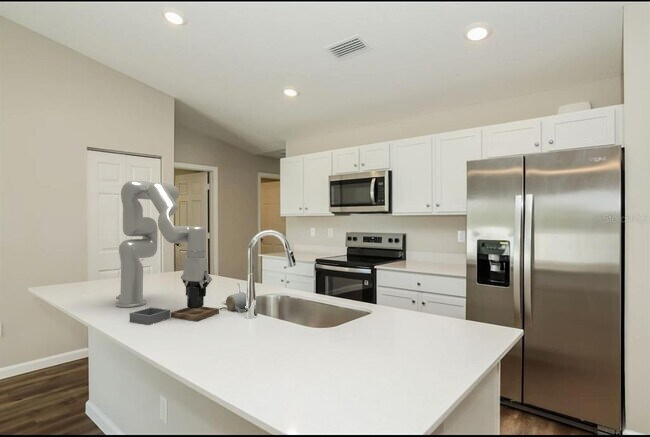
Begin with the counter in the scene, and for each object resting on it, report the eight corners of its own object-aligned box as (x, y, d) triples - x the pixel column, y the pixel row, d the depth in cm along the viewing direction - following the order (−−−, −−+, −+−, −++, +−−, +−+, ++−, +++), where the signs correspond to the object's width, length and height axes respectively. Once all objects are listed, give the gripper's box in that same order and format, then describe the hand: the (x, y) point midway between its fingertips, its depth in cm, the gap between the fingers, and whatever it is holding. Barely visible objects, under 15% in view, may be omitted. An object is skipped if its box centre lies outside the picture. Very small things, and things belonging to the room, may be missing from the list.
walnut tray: (170, 317, 151) (170, 312, 151) (193, 310, 164) (193, 305, 164) (197, 321, 146) (197, 316, 146) (218, 313, 159) (218, 308, 159)
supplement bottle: (183, 307, 153) (183, 279, 153) (194, 304, 159) (195, 277, 159) (196, 309, 150) (196, 280, 150) (207, 305, 156) (207, 278, 157)
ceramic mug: (224, 309, 166) (225, 293, 166) (239, 306, 172) (239, 290, 172) (237, 314, 159) (238, 297, 159) (252, 311, 165) (253, 294, 165)
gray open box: (129, 321, 144) (129, 313, 144) (150, 315, 154) (150, 307, 154) (149, 324, 140) (149, 316, 140) (169, 318, 150) (170, 309, 150)
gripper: (174, 254, 154) (173, 295, 154) (207, 256, 148) (206, 299, 148) (186, 253, 161) (186, 292, 161) (218, 255, 155) (217, 296, 155)
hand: (195, 295), depth 155 cm, fingers closed on supplement bottle, 6 cm apart
